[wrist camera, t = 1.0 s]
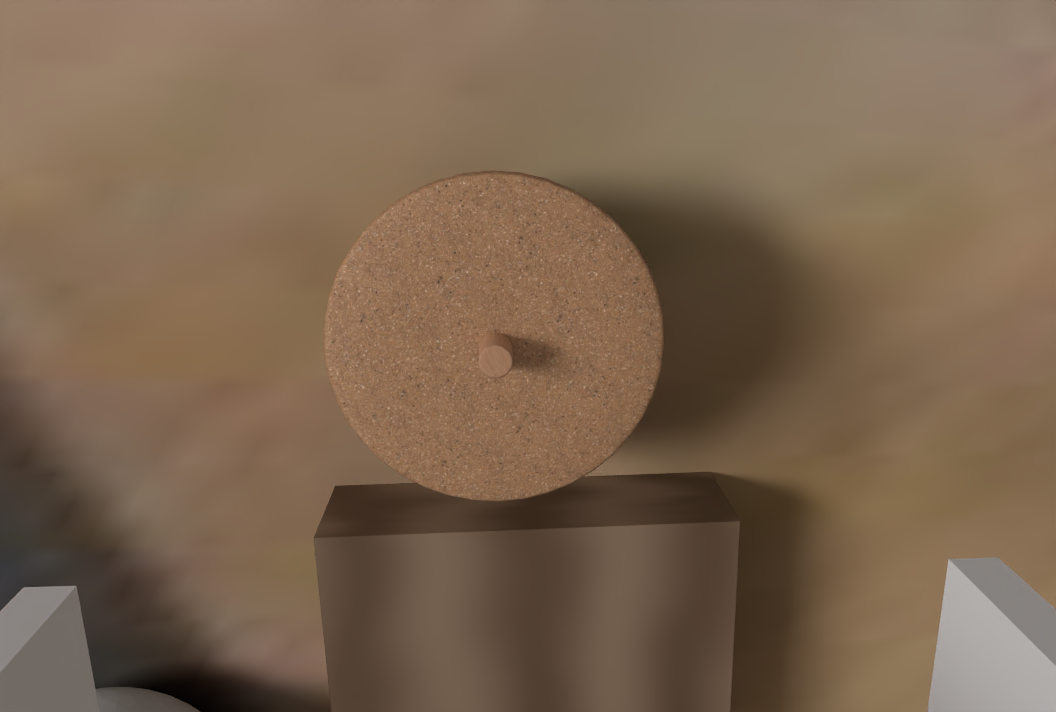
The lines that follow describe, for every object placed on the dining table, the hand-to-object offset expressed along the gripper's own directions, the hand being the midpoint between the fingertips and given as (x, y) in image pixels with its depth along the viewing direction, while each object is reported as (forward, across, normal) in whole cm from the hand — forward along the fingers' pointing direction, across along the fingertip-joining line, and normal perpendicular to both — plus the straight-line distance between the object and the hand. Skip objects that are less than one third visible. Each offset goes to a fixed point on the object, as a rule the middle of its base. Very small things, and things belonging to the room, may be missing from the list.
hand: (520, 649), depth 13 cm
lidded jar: (+22, 0, +1) cm, 22 cm away
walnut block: (+23, +1, -15) cm, 27 cm away
